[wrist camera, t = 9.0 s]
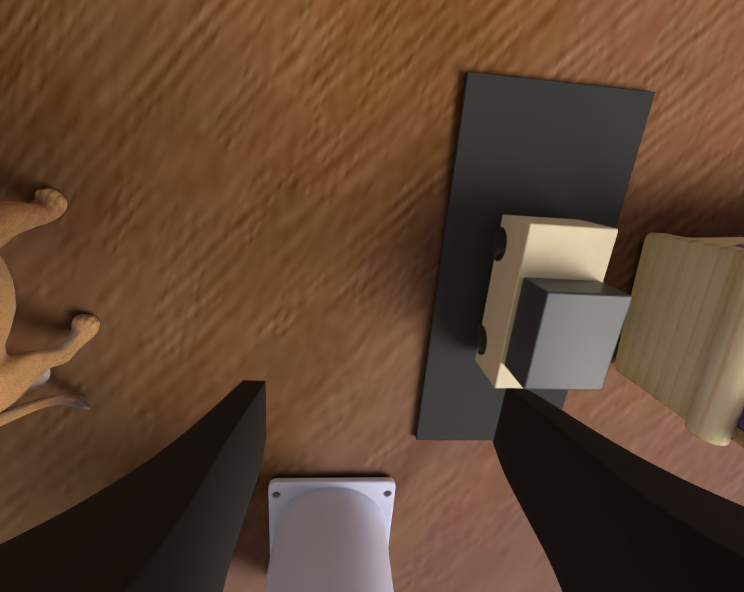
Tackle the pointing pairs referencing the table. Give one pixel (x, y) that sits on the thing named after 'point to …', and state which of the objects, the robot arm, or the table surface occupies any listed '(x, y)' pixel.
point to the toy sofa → (689, 332)
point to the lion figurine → (28, 370)
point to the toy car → (550, 305)
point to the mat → (522, 198)
